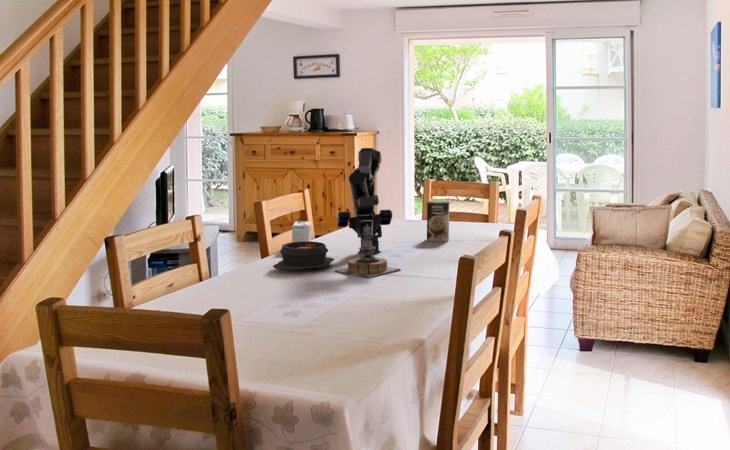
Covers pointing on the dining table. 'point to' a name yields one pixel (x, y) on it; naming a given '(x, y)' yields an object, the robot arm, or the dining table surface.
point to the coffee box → (438, 221)
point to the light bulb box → (301, 231)
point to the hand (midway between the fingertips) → (368, 238)
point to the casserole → (303, 256)
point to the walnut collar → (367, 268)
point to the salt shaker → (367, 244)
